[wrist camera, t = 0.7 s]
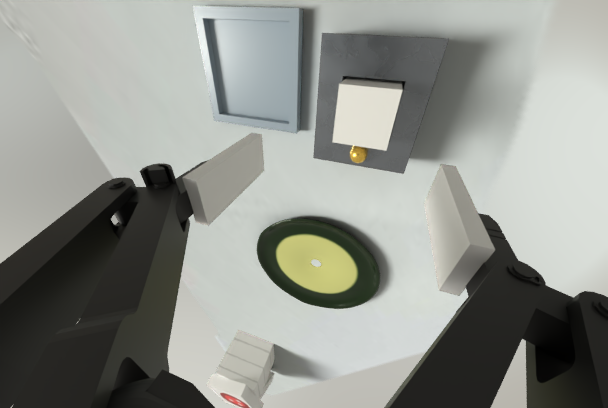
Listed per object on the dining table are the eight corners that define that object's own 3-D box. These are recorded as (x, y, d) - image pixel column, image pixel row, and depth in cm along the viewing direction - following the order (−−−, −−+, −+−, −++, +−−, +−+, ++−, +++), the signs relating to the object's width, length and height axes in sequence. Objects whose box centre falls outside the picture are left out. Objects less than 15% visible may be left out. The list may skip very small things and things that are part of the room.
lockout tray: (200, 7, 30) (192, 5, 29) (303, 9, 27) (299, 7, 26) (219, 118, 39) (214, 120, 38) (299, 130, 36) (296, 133, 35)
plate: (367, 313, 57) (366, 322, 55) (266, 282, 64) (262, 289, 62) (395, 230, 41) (395, 239, 39) (255, 200, 48) (249, 207, 46)
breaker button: (348, 76, 27) (339, 83, 23) (401, 81, 26) (402, 89, 21) (341, 127, 31) (332, 142, 26) (387, 134, 29) (386, 150, 25)
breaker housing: (332, 33, 28) (317, 32, 22) (440, 38, 25) (452, 38, 20) (322, 147, 36) (309, 165, 31) (401, 160, 33) (403, 182, 28)
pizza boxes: (242, 357, 106) (219, 405, 92) (233, 325, 88) (202, 379, 74) (280, 373, 102) (262, 426, 88) (279, 343, 84) (256, 403, 70)
